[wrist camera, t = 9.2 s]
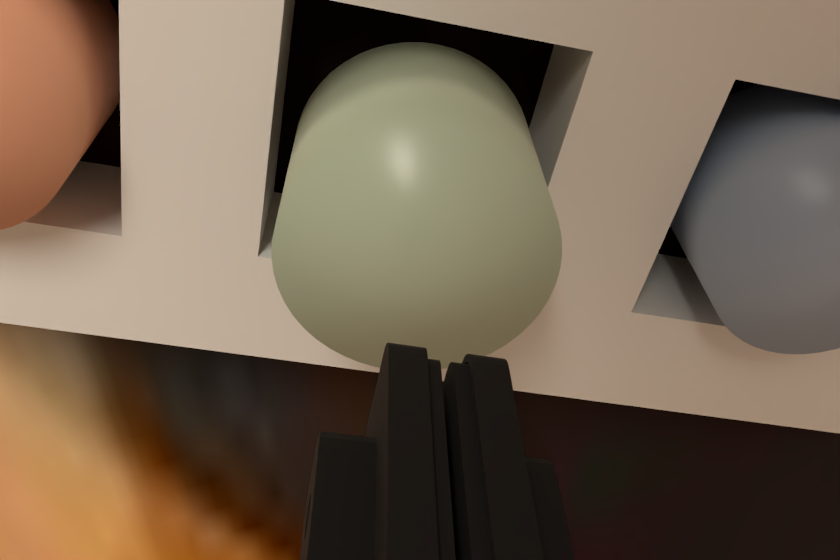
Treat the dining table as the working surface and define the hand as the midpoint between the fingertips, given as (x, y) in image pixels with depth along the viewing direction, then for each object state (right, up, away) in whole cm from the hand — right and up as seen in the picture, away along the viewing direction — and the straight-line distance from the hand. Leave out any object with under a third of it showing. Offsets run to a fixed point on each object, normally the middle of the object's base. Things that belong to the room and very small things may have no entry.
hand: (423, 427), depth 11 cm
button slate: (+9, +5, +9) cm, 13 cm away
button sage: (0, +5, +6) cm, 7 cm away
